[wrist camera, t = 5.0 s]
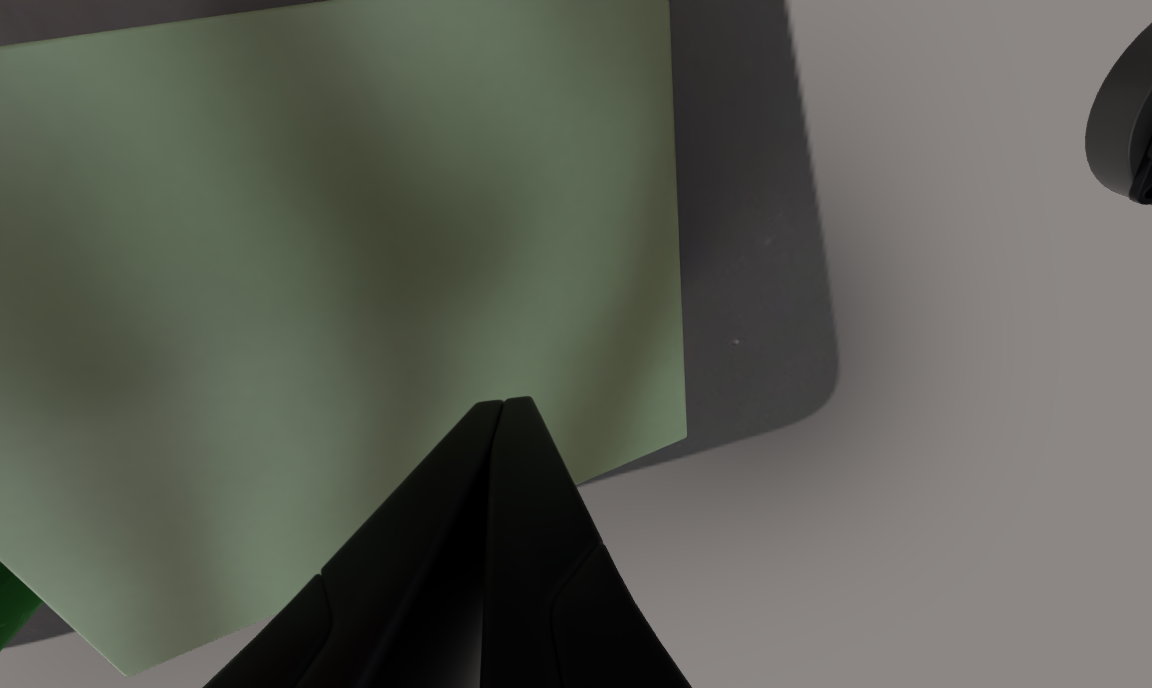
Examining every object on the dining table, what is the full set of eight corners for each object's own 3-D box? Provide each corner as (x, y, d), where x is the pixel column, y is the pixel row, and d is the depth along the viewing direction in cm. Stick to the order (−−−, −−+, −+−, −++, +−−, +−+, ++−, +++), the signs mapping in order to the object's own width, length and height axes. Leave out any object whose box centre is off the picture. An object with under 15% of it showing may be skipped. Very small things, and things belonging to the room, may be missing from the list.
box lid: (135, 647, 13) (125, 679, 12) (-409, 107, 6) (-489, 113, 6) (673, 422, 17) (687, 437, 16) (646, -42, 10) (668, -48, 10)
